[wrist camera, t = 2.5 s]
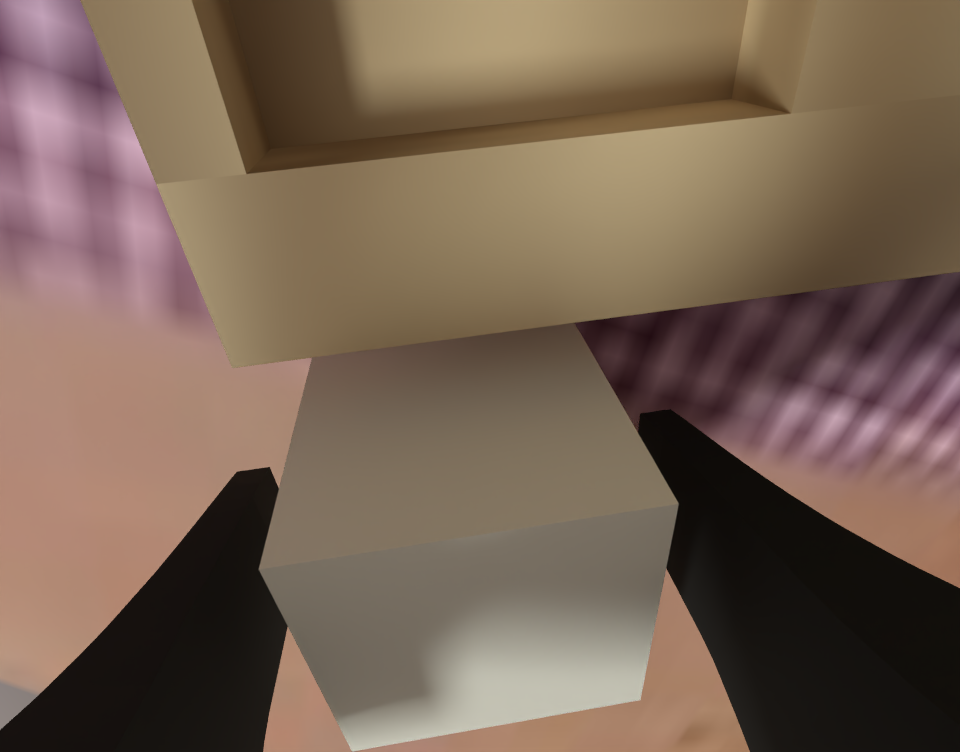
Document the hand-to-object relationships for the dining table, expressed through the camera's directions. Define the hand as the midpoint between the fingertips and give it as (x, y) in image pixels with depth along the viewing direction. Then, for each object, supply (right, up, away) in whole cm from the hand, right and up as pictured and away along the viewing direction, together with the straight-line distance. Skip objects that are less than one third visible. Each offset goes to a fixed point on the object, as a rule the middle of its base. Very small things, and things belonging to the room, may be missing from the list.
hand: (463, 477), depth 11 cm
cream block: (0, +1, +1) cm, 2 cm away
